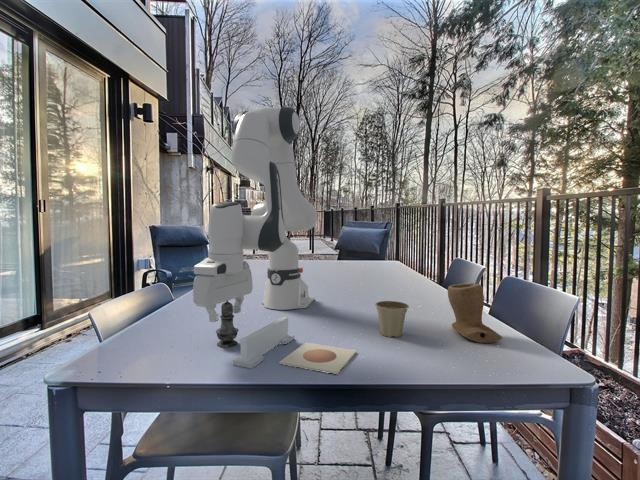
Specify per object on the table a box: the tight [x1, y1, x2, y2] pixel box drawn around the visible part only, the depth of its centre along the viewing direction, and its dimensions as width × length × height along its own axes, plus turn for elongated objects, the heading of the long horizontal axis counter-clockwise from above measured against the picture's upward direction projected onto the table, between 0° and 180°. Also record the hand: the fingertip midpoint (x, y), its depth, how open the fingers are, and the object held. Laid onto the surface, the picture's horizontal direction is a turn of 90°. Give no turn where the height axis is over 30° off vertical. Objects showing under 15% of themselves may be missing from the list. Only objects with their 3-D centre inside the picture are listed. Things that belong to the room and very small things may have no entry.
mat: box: [279, 341, 357, 375], centre depth 87 cm, size 14×14×1 cm
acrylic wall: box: [232, 316, 295, 370], centre depth 91 cm, size 21×5×6 cm, turn 157°
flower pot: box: [375, 300, 409, 338], centre depth 105 cm, size 9×9×9 cm
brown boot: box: [447, 282, 503, 344], centre depth 104 cm, size 15×12×15 cm
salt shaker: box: [215, 300, 240, 349], centre depth 95 cm, size 6×6×12 cm
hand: (225, 316), depth 95 cm, fingers open, 8 cm apart
